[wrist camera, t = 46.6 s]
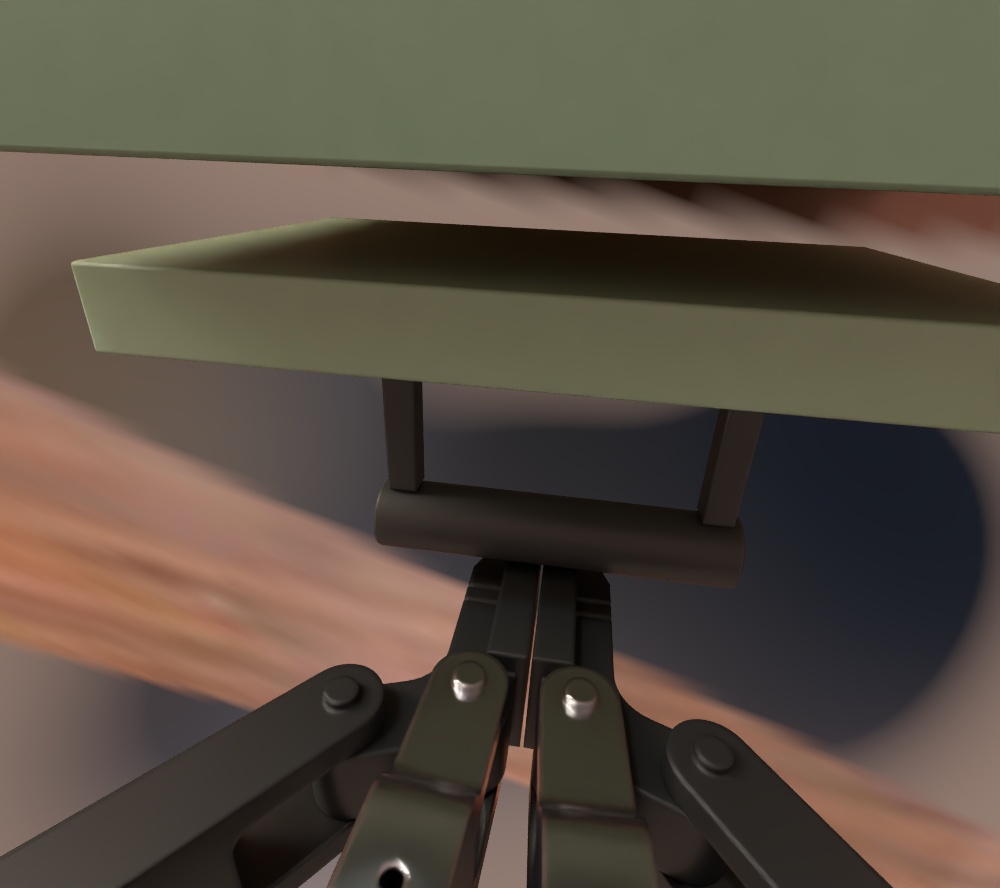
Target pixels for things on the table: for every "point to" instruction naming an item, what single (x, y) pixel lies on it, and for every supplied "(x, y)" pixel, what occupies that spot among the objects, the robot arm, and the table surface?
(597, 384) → the drawer
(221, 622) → the table surface
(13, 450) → the table surface
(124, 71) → the cabinet
